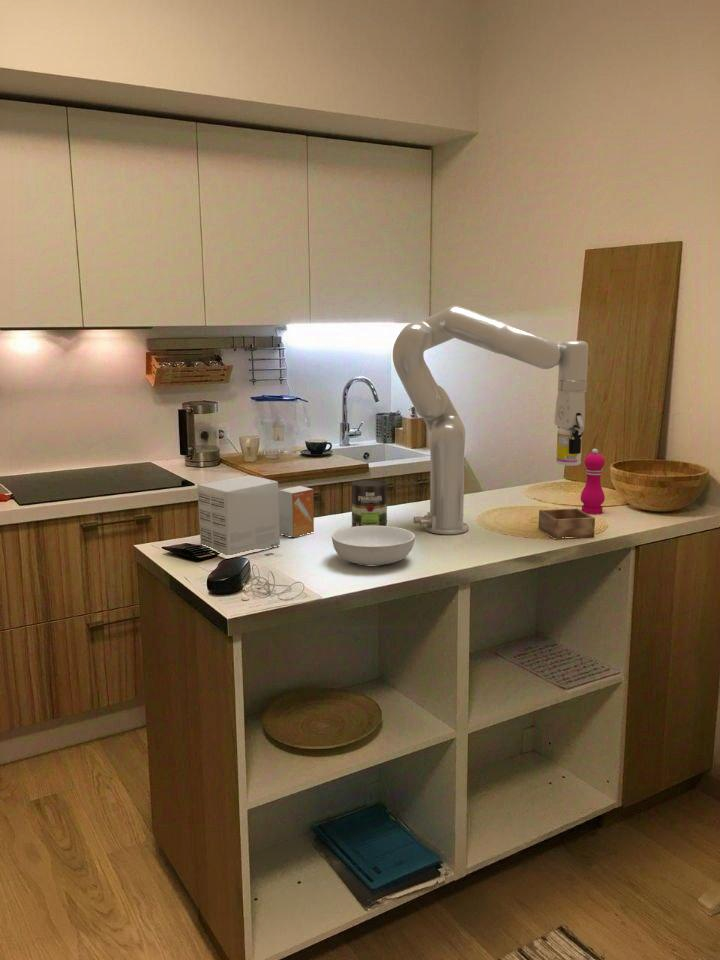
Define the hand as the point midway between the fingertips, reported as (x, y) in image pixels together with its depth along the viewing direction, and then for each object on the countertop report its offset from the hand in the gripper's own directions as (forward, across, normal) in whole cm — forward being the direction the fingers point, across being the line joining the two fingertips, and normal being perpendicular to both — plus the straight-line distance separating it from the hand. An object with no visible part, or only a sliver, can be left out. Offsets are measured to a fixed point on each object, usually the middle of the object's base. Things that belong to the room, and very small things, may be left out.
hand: (569, 450), depth 223 cm
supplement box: (+24, -1, -91) cm, 94 cm away
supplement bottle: (+4, 0, 0) cm, 4 cm away
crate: (+23, 0, 0) cm, 23 cm away
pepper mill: (+24, -22, +18) cm, 37 cm away
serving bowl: (+24, +16, -58) cm, 65 cm away
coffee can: (+24, -13, -54) cm, 60 cm away
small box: (+24, -13, -75) cm, 80 cm away
